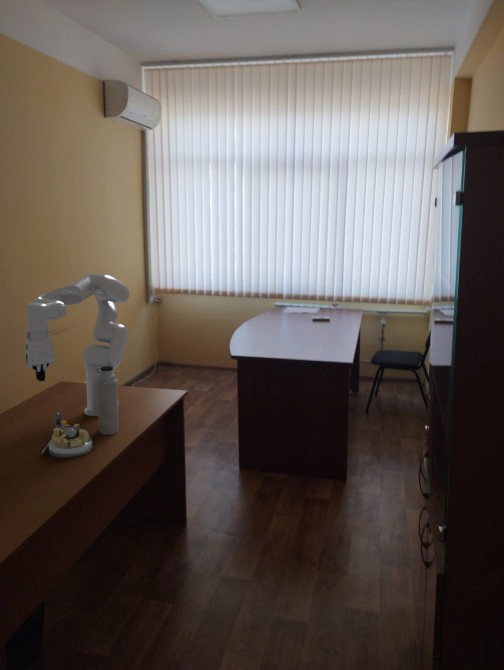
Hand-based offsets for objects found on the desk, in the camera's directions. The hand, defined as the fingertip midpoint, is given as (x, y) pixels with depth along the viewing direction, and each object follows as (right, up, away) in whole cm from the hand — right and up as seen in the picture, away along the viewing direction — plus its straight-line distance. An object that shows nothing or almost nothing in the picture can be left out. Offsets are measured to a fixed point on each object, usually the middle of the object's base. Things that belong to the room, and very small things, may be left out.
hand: (41, 380), depth 211 cm
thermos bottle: (+22, -23, +16) cm, 36 cm away
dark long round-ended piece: (+9, -22, +1) cm, 24 cm away
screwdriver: (+3, -25, +4) cm, 26 cm away
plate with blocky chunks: (+12, -26, -1) cm, 29 cm away
